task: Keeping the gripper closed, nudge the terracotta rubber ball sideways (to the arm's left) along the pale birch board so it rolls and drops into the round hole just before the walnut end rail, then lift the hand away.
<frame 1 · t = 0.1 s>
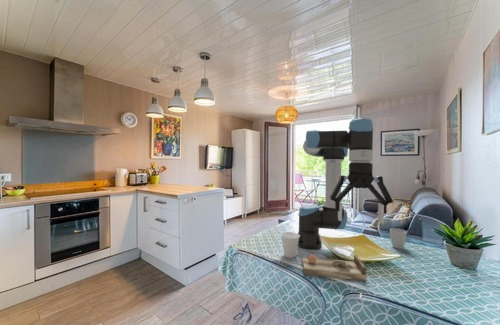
hand: (359, 221, 74), 28 cm above the table, fingers open, 13 cm apart
cup 2: (290, 256, 109), on the table
board: (331, 270, 94), on the table
ball: (312, 259, 96), point 4 cm above the table, touching board
cup: (397, 247, 123), on the table
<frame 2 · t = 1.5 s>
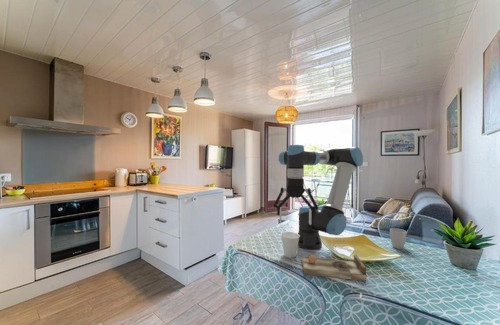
hand: (295, 223, 97), 21 cm above the table, fingers open, 13 cm apart
nothing on the table moved.
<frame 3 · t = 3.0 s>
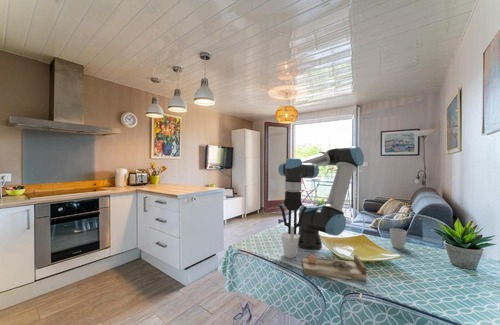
hand: (292, 240, 97), 12 cm above the table, fingers closed
nothing on the table moved.
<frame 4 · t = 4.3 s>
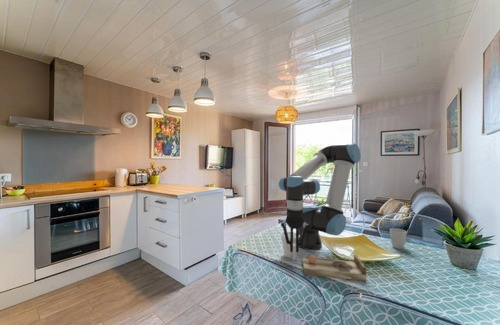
hand: (294, 258, 97), 4 cm above the table, fingers closed
nothing on the table moved.
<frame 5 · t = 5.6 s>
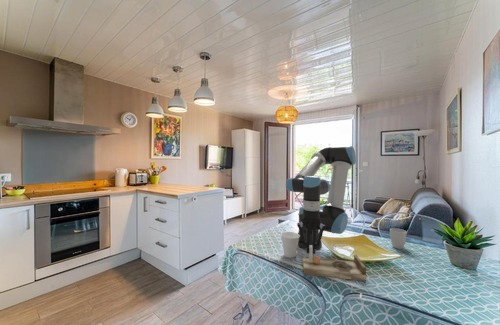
hand: (310, 260, 96), 4 cm above the table, fingers closed
ball: (316, 259, 95), point 4 cm above the table, tilted 56°, touching board, gripper
everything else where it was.
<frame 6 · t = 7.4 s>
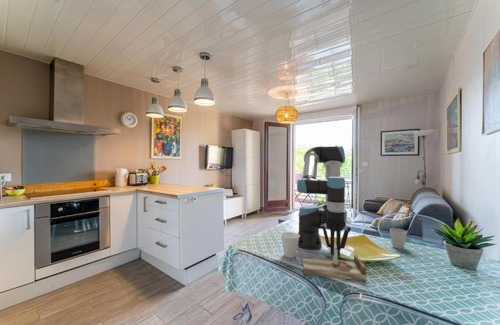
hand: (335, 262, 94), 4 cm above the table, fingers closed
ball: (342, 267, 93), point 2 cm above the table, tilted 73°
everything else where it was.
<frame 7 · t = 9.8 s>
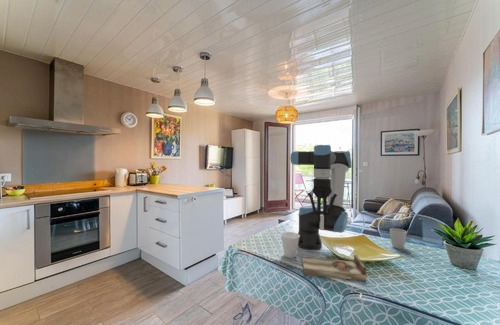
hand: (321, 229, 96), 18 cm above the table, fingers closed
ball: (341, 267, 94), point 2 cm above the table, tilted 53°
everything else where it was.
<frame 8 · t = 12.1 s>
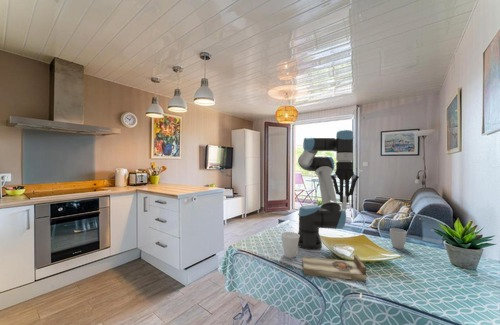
hand: (344, 209, 102), 26 cm above the table, fingers closed
ball: (341, 267, 94), point 2 cm above the table, tilted 61°
everything else where it was.
at the end: ball 0.1 cm from the target spot in the board, point 1.8 cm above the board's base; the gripper is holding nothing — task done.
